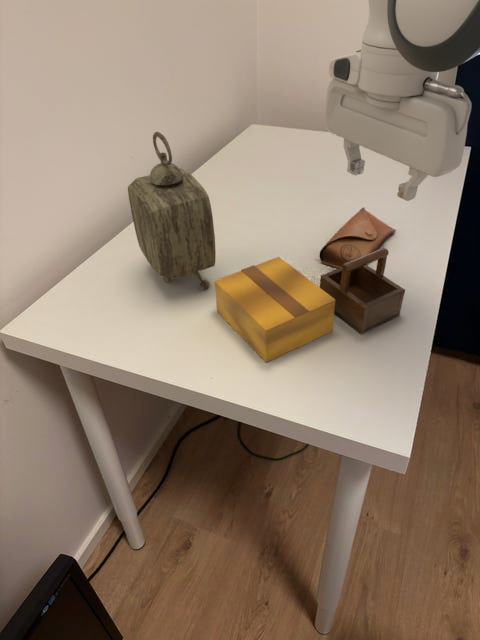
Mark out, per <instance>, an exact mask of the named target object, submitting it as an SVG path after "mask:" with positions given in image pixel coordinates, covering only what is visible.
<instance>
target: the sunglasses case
mask: <svg viewBox="0 0 480 640" xmlns="http://www.w3.org/2000/svg"><path fill="white" fill-rule="evenodd" d="M396 230H397V229H395V228H393V227H391V226H390V225H388V224H387V223H385V222H384V221H382V220H380V219H379V218H378V217H376V216H375V215H373V214H372V213H371V212H369V211H367V210H366V207H362V208H360V209H359V211H358V212H356V214H354V215H353V216H351V218H350V219H348V220H347V221H346V222H345V223H344V224H343V225H342V227H340V228H339V229H338V230H337V231H336V233H334V234H333V235H332V237H330V239H329V240H328V241H327V243H326V244H325V245H324V246H322V248H321V249H320V251H319V255H318V256H319V259H320V261H321V263H322V264H324V265H326V266H329V267H331V268H334V269H338V268H341V267H342V265H343V264H344V263H348V262H351V261H353V260H356V259H358V258H360V257H363V256H365V255H368V254H370V253H373V252H375V251H377V250H379V249H380V247H381V246H382V245H383V244H384V243H385V242H386V241H387V240H388V239H389V238H390V237H392V235H393V234H394V233H395V232H396Z"/></svg>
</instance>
